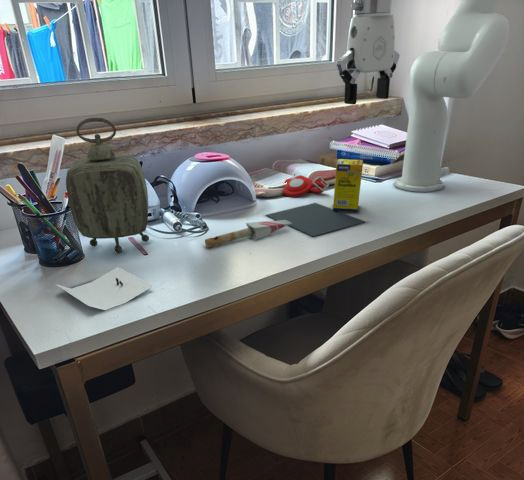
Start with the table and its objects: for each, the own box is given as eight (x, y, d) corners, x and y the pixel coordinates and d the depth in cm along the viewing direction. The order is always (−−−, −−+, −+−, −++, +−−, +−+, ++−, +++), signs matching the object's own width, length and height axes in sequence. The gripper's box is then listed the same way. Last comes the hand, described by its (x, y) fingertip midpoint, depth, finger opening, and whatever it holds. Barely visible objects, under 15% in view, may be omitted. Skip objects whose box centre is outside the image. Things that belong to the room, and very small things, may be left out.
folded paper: (154, 291, 86) (152, 281, 85) (90, 316, 79) (88, 305, 78) (118, 272, 94) (116, 262, 93) (57, 293, 87) (54, 283, 86)
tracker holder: (284, 194, 129) (276, 176, 135) (287, 209, 132) (279, 190, 139) (329, 180, 128) (319, 162, 135) (331, 195, 132) (321, 177, 138)
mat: (315, 203, 125) (315, 202, 125) (365, 222, 113) (365, 221, 113) (266, 215, 119) (266, 214, 118) (313, 237, 106) (313, 236, 106)
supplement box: (357, 213, 118) (362, 164, 112) (332, 211, 119) (335, 163, 113) (358, 206, 123) (363, 159, 117) (334, 204, 124) (337, 158, 118)
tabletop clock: (154, 238, 108) (135, 112, 94) (154, 254, 100) (133, 119, 87) (86, 244, 106) (56, 116, 92) (80, 261, 99) (47, 124, 85)
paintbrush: (293, 217, 107) (209, 240, 100) (294, 229, 109) (211, 252, 102) (284, 212, 110) (201, 234, 103) (284, 224, 112) (203, 246, 104)
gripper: (353, 9, 95) (348, 107, 104) (415, 5, 102) (406, 97, 112) (327, 10, 100) (325, 104, 110) (388, 6, 108) (382, 94, 117)
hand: (366, 101), depth 111 cm, fingers open, 9 cm apart
